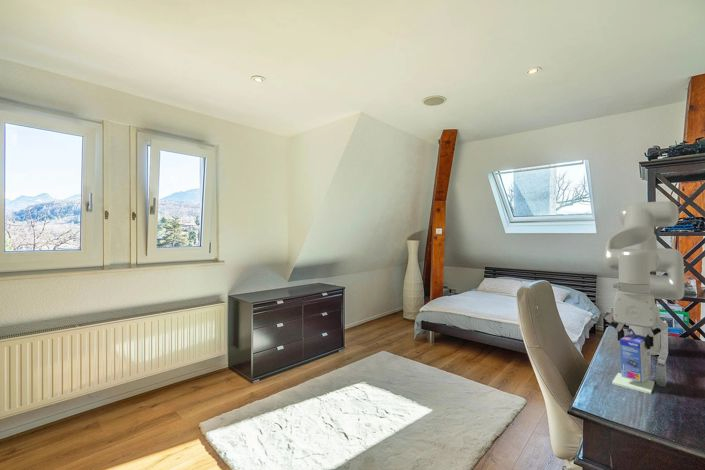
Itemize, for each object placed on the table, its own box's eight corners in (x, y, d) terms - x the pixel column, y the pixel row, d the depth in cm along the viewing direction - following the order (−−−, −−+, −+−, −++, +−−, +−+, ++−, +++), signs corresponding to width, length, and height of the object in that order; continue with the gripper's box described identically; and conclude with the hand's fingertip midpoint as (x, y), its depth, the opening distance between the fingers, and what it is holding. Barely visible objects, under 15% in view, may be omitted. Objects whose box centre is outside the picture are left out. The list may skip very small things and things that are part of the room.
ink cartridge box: (629, 369, 107) (629, 325, 107) (651, 375, 102) (651, 329, 102) (619, 376, 101) (619, 330, 101) (642, 383, 97) (642, 335, 97)
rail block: (657, 381, 104) (657, 362, 104) (666, 383, 102) (666, 364, 102) (656, 384, 101) (656, 365, 101) (665, 386, 99) (665, 367, 100)
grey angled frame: (625, 345, 120) (625, 310, 120) (668, 353, 111) (667, 315, 111) (618, 355, 109) (617, 316, 110) (664, 364, 101) (663, 322, 101)
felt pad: (618, 374, 109) (618, 372, 109) (654, 383, 102) (654, 381, 102) (612, 384, 101) (612, 382, 101) (650, 394, 95) (650, 392, 95)
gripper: (598, 287, 106) (599, 341, 106) (671, 293, 93) (672, 355, 93) (603, 285, 111) (603, 337, 111) (673, 290, 98) (674, 349, 98)
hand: (635, 345), depth 102 cm, fingers closed on ink cartridge box, 5 cm apart
